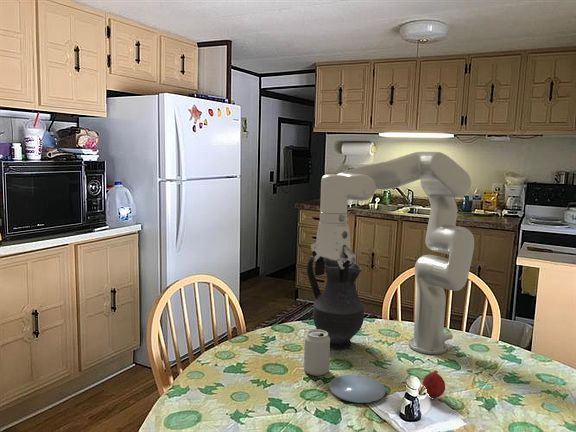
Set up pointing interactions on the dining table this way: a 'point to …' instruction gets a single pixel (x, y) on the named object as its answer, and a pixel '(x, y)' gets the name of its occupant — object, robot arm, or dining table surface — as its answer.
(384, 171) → the robot arm
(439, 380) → the onion
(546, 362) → the dining table surface
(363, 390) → the plate
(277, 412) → the dining table surface
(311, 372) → the can
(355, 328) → the pitcher
